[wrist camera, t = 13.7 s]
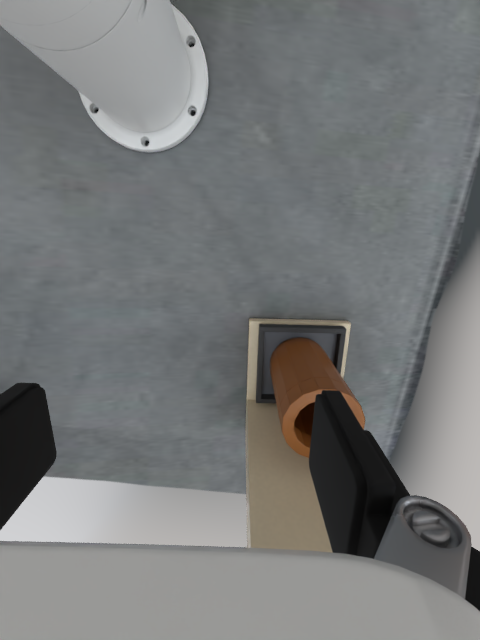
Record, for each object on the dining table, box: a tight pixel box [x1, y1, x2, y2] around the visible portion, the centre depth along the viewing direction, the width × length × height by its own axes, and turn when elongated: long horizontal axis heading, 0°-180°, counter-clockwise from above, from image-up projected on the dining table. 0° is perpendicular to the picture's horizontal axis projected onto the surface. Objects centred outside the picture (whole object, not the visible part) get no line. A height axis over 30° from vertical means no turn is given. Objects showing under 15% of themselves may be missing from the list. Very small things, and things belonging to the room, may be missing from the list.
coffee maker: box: [245, 318, 351, 553], centre depth 27 cm, size 16×12×24 cm
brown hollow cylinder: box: [270, 337, 365, 458], centre depth 31 cm, size 7×7×12 cm
